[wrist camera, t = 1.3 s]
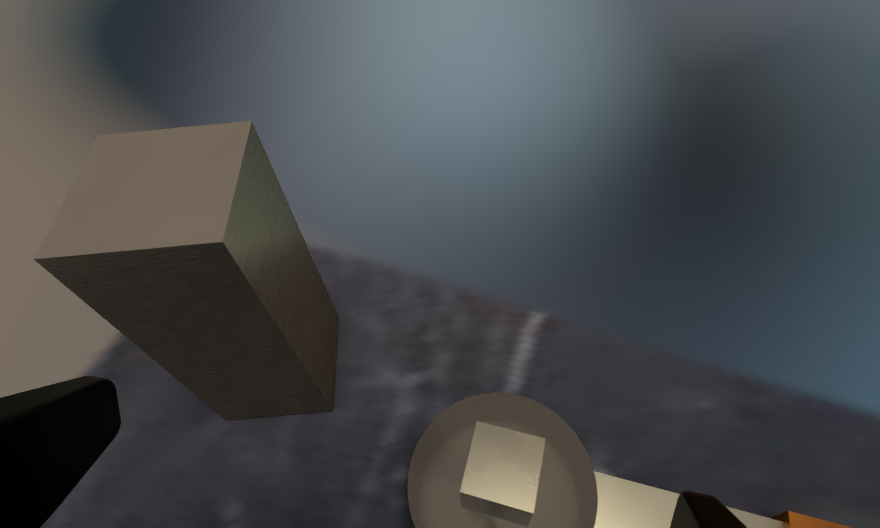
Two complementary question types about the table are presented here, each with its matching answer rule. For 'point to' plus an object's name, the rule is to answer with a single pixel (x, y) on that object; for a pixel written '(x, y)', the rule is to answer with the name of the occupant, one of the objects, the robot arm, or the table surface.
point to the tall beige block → (200, 267)
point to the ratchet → (532, 476)
